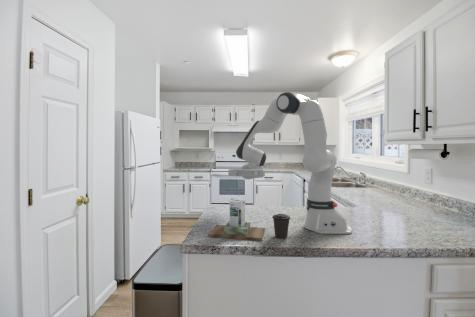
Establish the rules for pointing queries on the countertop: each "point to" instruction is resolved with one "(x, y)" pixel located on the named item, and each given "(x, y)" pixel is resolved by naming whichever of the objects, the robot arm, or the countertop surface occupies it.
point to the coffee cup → (281, 225)
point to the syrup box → (237, 213)
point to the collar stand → (237, 232)
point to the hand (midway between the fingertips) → (244, 174)
